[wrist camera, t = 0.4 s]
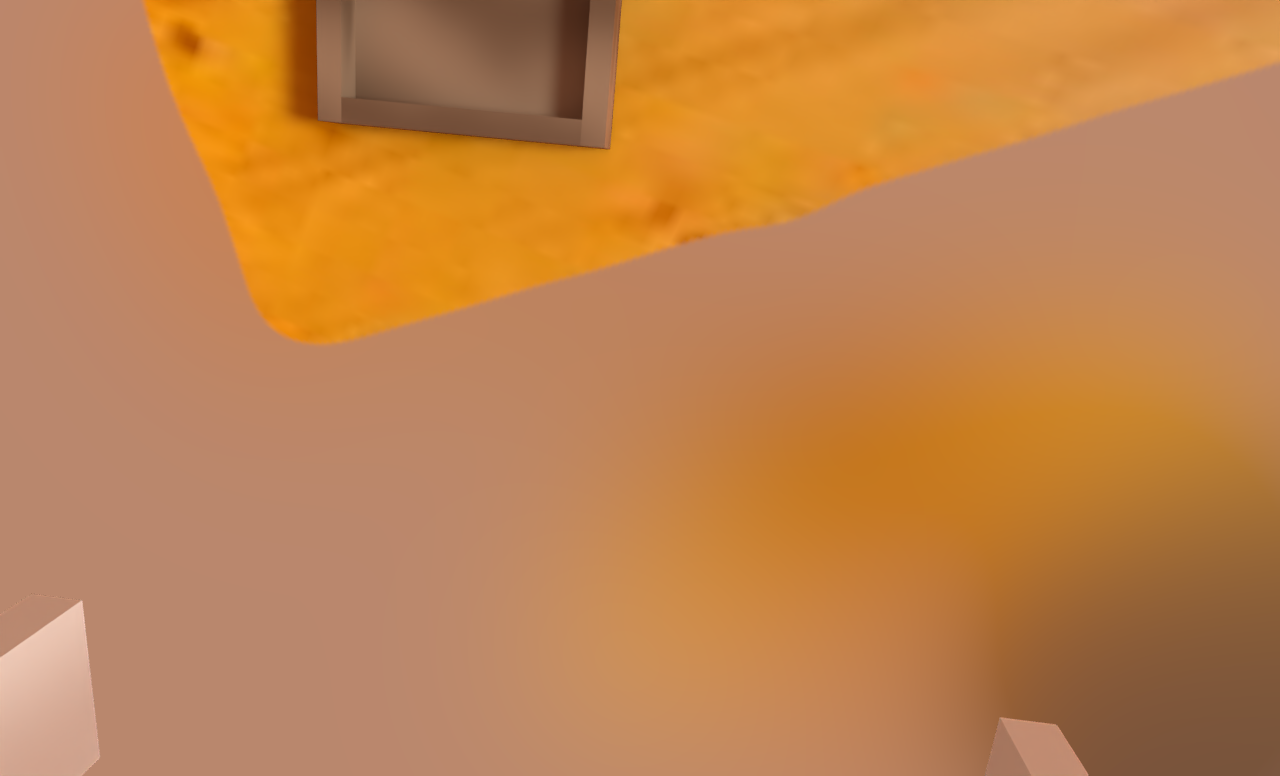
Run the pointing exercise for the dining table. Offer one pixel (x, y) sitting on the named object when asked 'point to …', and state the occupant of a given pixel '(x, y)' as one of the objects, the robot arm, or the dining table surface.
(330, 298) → the dining table surface
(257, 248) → the dining table surface
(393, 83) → the tray
